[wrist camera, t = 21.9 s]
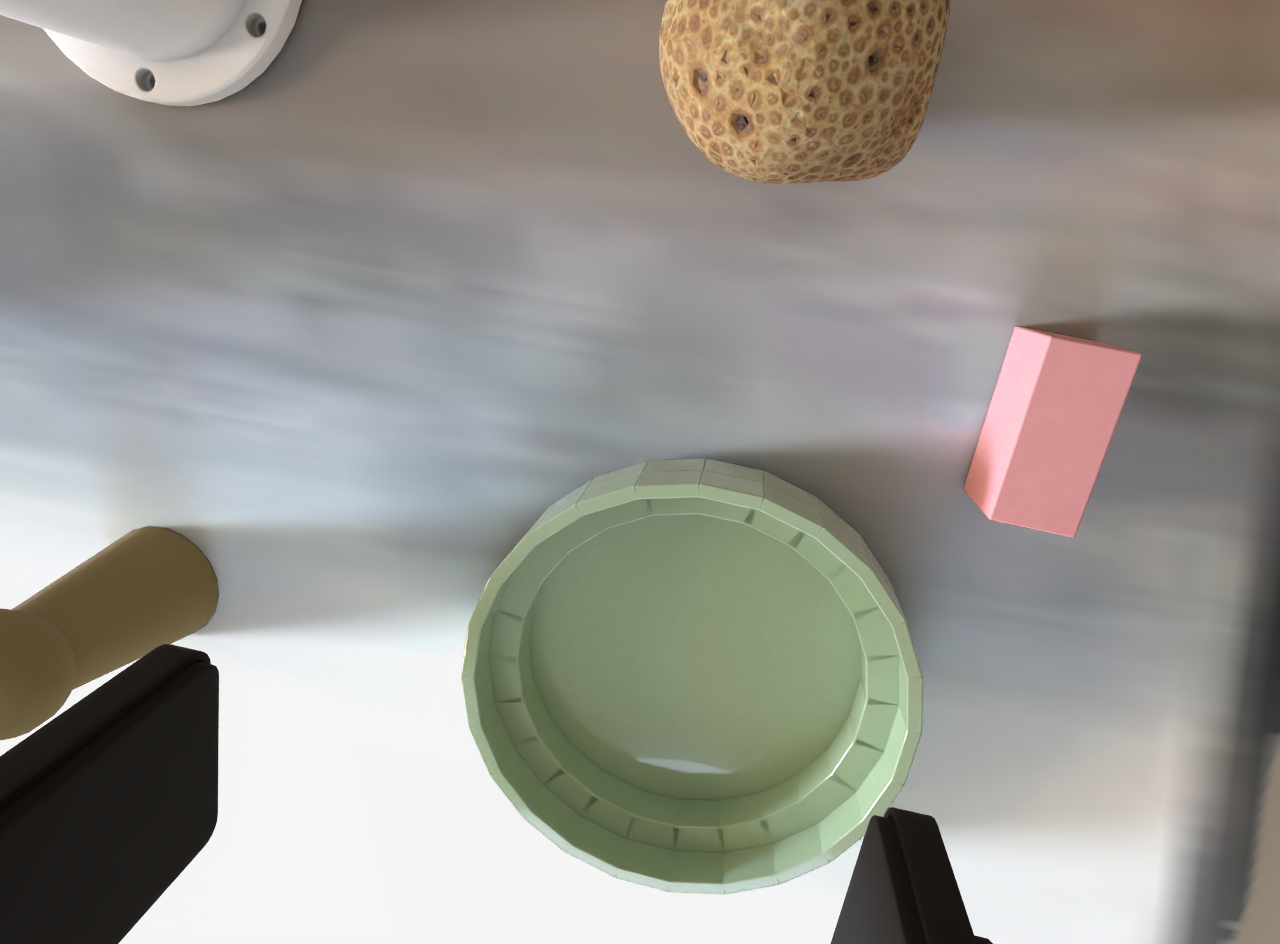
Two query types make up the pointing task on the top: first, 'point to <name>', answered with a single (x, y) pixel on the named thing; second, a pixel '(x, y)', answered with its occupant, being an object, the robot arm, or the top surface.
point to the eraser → (1049, 429)
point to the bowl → (694, 678)
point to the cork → (100, 621)
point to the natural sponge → (802, 82)
